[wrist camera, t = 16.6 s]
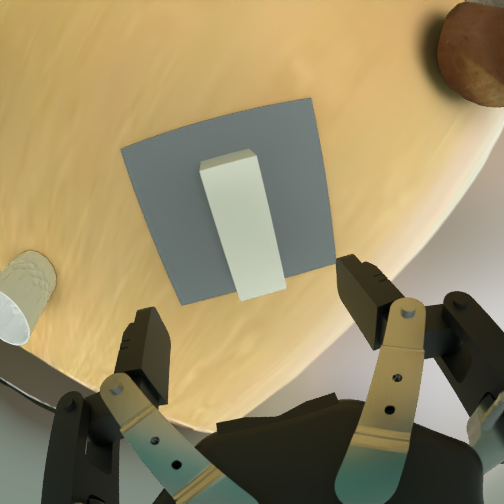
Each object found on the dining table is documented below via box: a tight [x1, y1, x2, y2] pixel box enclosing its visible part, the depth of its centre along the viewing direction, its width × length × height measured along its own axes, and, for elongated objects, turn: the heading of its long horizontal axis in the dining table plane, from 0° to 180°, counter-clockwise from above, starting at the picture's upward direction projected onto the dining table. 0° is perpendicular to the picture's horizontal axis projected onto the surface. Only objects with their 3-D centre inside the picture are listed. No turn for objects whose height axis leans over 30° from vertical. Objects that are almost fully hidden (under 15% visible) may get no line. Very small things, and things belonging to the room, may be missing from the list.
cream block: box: [199, 148, 287, 301], centre depth 30 cm, size 5×5×14 cm
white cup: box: [0, 250, 56, 345], centre depth 27 cm, size 8×8×10 cm
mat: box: [120, 98, 336, 306], centre depth 32 cm, size 20×20×1 cm
